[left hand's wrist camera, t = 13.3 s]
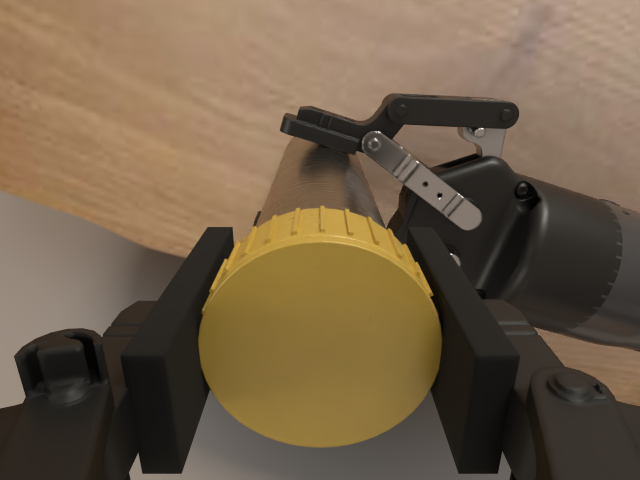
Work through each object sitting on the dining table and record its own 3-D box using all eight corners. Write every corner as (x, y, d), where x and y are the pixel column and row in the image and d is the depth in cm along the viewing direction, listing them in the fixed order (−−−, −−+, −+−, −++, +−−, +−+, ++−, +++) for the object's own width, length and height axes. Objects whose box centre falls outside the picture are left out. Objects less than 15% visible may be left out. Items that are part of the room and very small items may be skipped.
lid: (403, 180, 11) (423, 208, 9) (439, 365, 13) (463, 425, 11) (185, 233, 11) (155, 272, 9) (252, 404, 13) (240, 469, 11)
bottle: (348, 203, 30) (394, 429, 12) (278, 191, 30) (210, 403, 11) (363, 133, 28) (445, 264, 10) (289, 119, 28) (230, 229, 10)
